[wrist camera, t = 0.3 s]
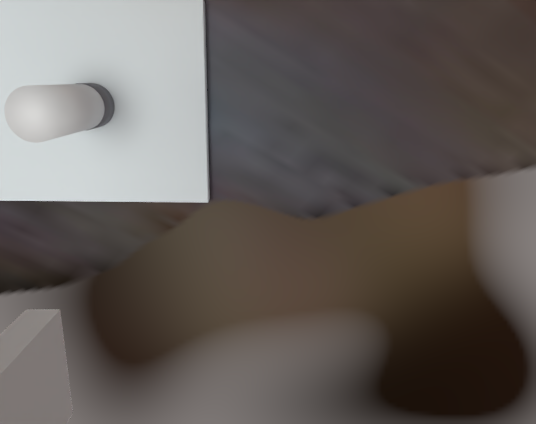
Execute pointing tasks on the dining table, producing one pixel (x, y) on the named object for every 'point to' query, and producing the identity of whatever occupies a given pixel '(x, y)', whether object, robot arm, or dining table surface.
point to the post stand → (103, 101)
